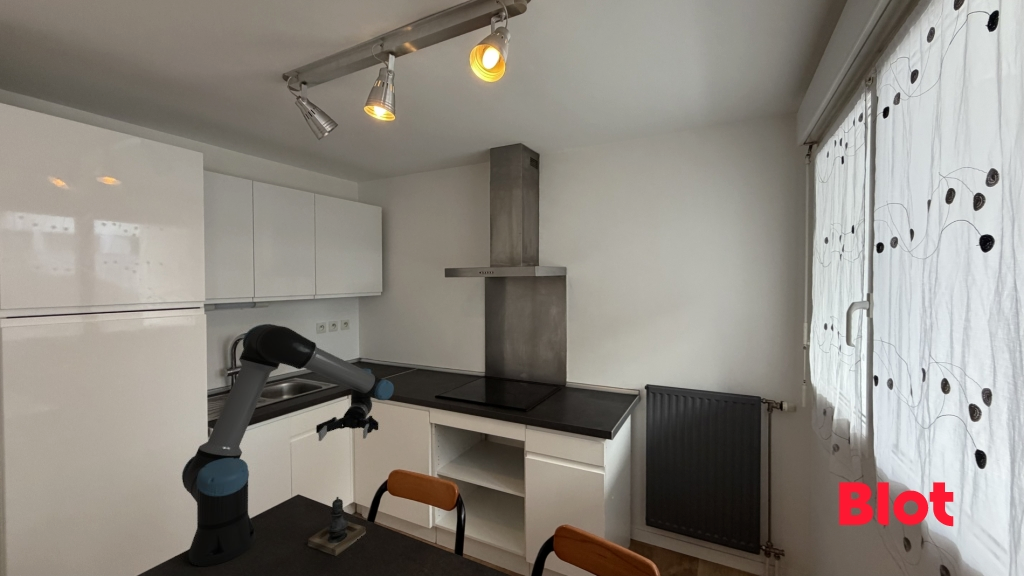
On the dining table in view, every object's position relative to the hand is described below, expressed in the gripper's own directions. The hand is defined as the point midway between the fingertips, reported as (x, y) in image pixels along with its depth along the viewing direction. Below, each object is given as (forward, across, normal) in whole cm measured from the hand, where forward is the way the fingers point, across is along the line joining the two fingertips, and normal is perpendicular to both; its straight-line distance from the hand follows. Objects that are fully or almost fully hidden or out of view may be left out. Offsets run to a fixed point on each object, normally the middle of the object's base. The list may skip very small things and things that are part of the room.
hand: (342, 435), depth 127 cm
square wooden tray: (+12, -2, -26) cm, 29 cm away
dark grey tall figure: (+12, -2, -26) cm, 29 cm away
